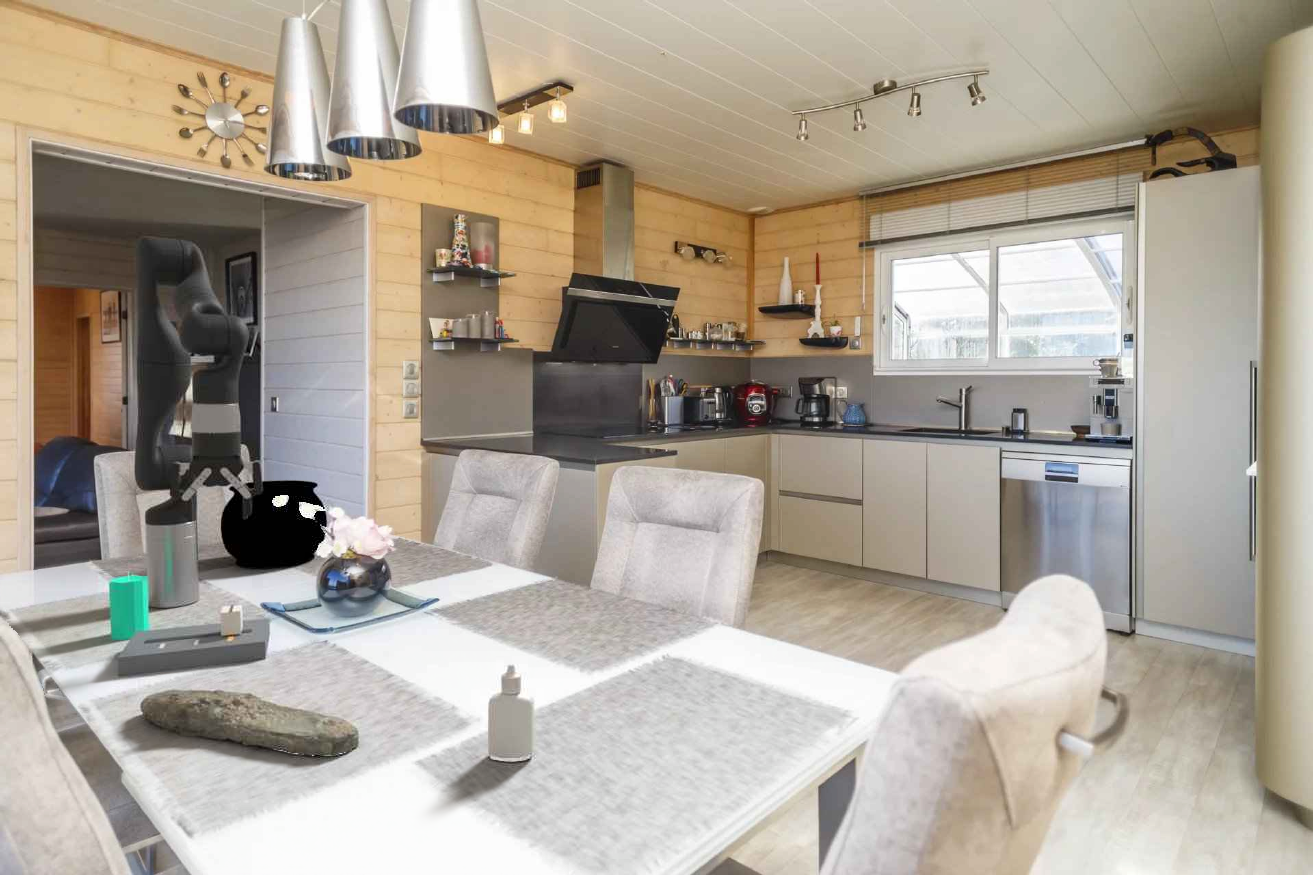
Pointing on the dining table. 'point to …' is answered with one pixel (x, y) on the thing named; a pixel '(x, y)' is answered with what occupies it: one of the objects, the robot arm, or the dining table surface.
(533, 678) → the dining table surface
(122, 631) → the candle
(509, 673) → the eye dropper bottle
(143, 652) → the fader console
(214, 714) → the long grey stone
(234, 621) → the fader
